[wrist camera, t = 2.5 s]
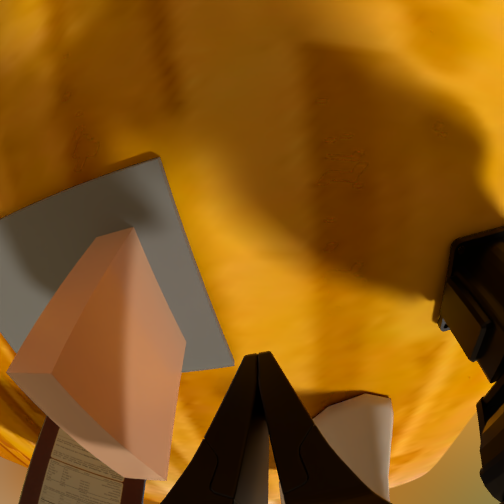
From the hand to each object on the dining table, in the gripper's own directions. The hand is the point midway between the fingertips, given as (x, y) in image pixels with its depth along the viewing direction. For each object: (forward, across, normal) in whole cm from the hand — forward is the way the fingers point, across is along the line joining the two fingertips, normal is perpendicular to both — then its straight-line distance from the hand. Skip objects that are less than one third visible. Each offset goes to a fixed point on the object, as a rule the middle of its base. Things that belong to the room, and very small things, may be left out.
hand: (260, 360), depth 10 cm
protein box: (+6, +22, +20) cm, 30 cm away
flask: (+6, -4, +16) cm, 18 cm away
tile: (+5, +6, 0) cm, 8 cm away
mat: (+6, +10, 0) cm, 12 cm away
